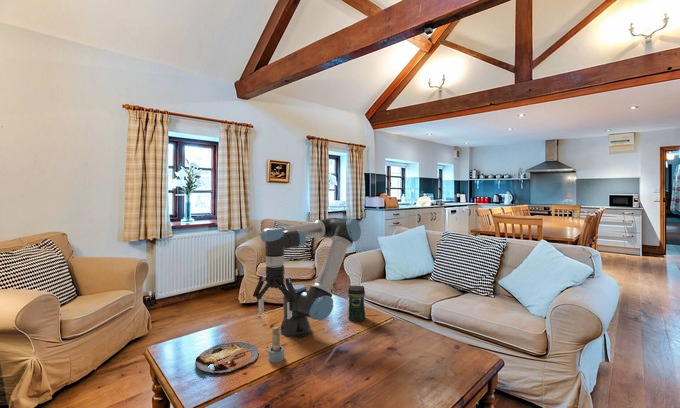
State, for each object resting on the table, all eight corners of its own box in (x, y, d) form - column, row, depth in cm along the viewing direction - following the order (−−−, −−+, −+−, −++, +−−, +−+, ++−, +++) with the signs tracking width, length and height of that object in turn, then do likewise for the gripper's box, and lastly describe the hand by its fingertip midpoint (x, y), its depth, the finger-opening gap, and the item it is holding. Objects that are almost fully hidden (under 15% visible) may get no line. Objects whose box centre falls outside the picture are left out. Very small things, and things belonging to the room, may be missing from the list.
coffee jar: (365, 316, 178) (365, 284, 177) (365, 322, 170) (365, 288, 169) (348, 315, 179) (348, 283, 178) (347, 321, 171) (347, 287, 170)
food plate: (210, 384, 116) (210, 375, 116) (186, 361, 132) (186, 353, 132) (268, 360, 134) (268, 351, 134) (240, 342, 150) (240, 335, 150)
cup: (273, 355, 136) (273, 344, 136) (286, 357, 134) (286, 346, 134) (265, 362, 130) (265, 351, 130) (278, 365, 128) (278, 353, 128)
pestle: (275, 356, 134) (274, 326, 134) (281, 357, 133) (280, 327, 133) (271, 359, 131) (270, 329, 131) (277, 360, 130) (277, 330, 130)
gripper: (244, 264, 131) (244, 315, 132) (297, 270, 123) (297, 323, 124) (254, 261, 138) (255, 308, 139) (306, 265, 130) (306, 316, 131)
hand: (275, 315), depth 131 cm, fingers open, 13 cm apart
